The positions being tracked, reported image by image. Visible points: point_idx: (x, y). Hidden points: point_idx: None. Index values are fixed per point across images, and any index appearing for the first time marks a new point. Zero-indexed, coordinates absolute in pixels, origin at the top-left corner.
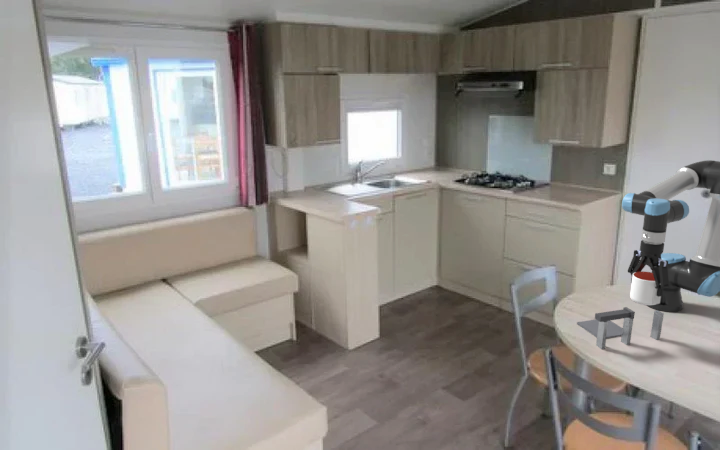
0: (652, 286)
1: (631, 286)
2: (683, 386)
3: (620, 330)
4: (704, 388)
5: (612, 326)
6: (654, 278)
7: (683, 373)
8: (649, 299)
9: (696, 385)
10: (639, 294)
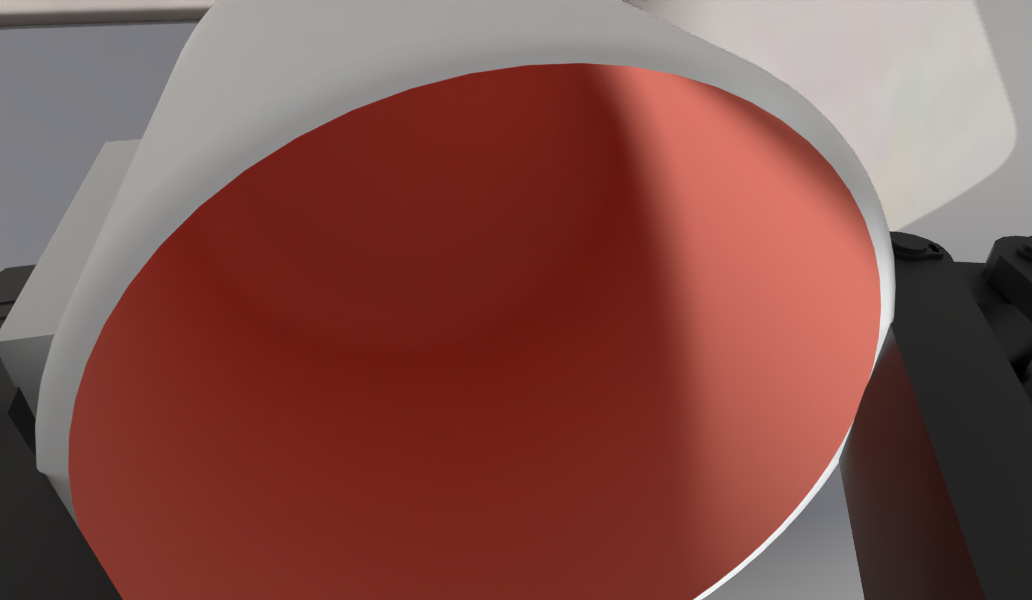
0: (750, 408)
1: (335, 478)
2: (874, 155)
3: (167, 79)
4: (945, 57)
5: (67, 100)
6: (857, 515)
7: (810, 52)
8: (622, 276)
9: (908, 78)
10: (534, 404)
